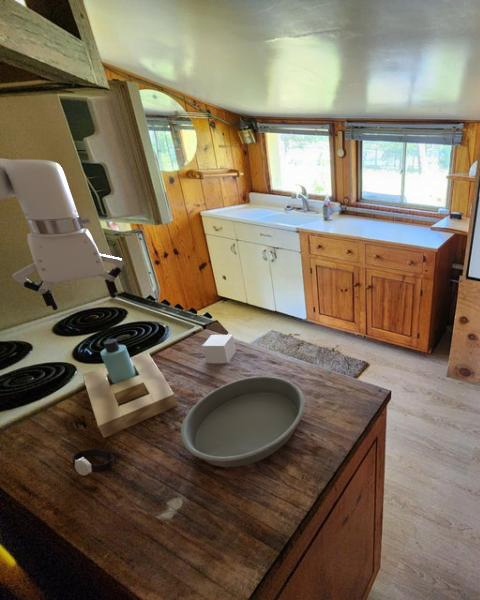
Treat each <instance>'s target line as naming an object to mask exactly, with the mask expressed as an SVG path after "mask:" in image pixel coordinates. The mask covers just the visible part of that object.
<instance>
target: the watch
mask: <svg viewBox="0 0 480 600" xmlns="http://www.w3.org/2000/svg"><path fill="white" fill-rule="evenodd" d="M91 457H92V458H93V457H98V458H99V457H100V458H104V459H106V460H109V461H108V462H106V463H102V464H97V465H96V464H95V465H94V464H92V463H90V461H89V460H88V459H86V458H91ZM71 458H72V464H73V466H74V468H75V470H76V472H77V473H78V474H79V475H81V476H86V475H88V474H92V473H95V474H97V473H104V472H106V471H109V470H110V469H112V467H113V466H114V464H115V461H114V455H113V453H112V452H111V451H109V450H107V449H99V448H92V449H91V448H90V449H85V450H81V451H78V452H76V453H75V454H73V455H72V457H71Z"/></svg>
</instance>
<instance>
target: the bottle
mask: <svg viewBox="0 0 480 600" xmlns="http://www.w3.org/2000/svg"><path fill="white" fill-rule="evenodd" d="M102 343H103V346H104V349H102V350H101V351H100V352H99V353H100V356H101V359H102V361H103V364H104V367H106V369H107V371H108V373H109V376H110V378H111V380H112V383H113V384H116V383H119V382H122V381H124V380H127V379H130V378H133V377H135V376H137V375H136V373H135V370H134V367H133V365H132V362H131V356H130V354H129V351H128V349H127V346H126V345H124V344H119V343H118V341H117V339H116V338H110V339H106V340H104V341H103V342H102Z"/></svg>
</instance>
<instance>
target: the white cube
mask: <svg viewBox="0 0 480 600" xmlns="http://www.w3.org/2000/svg"><path fill="white" fill-rule="evenodd" d="M201 348H202V352H203V354H204V360H205V363H206V364H229V363H230V361H231V360H232V359H233V357H234V355H235V354H236V352H237V350H236V345H235V340H234V335H233V334H211V335H210V336H209V337H208V338H207V339H206V341H205V342H204V343H203V344H202V345H201Z"/></svg>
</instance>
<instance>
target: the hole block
mask: <svg viewBox="0 0 480 600" xmlns="http://www.w3.org/2000/svg"><path fill="white" fill-rule="evenodd" d="M130 359H131V362H132V365H133V367H134V370H135V373H136V375H137V376H135V377H133V378H130V379H127V380H124V381H122V382H119V383H116V384H113V383H112V380H111V378H110V376H109V373H108V371H107V369H106V366H104V367H101V368H98V369H96V370H92V371H88V372H86V373H83V374H82V379H83V381H84V385H85V388H86V391H87V395H88V398H89V401H90V404H91V408H92V412H93V415H94V418H95V422H96V425H97V428H98V430H99V431H100V434H101V436H102V438H103V439H105V438H107V437H109V436H111V435H114V434H116V433H118V432H120V431H123V430H125V429H127V428H130V427H132V426H134V425H137V424H139V423H141V422H144V421H146V420H148V419H150V418H152V417H155V416H157V415H159V414H161V413H164V412H166V411H168V410H172V409H173V408H175V407H178V406H179V404H178V402H177V401H178V400H177V398H176V395H175V393H174V391H173V390H172V388H171V386H170V385H169V383H168V382H167V380H166V378H165V377H164V375H163V374H162V372H161V371H160V369H159V367H158V366H157V364H156V363H155V361H154V360H153V358H152V356H151V355H150V353H149V352H147V353H144V354H141V355H137V356H135V357H132V358H131V357H130Z"/></svg>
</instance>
